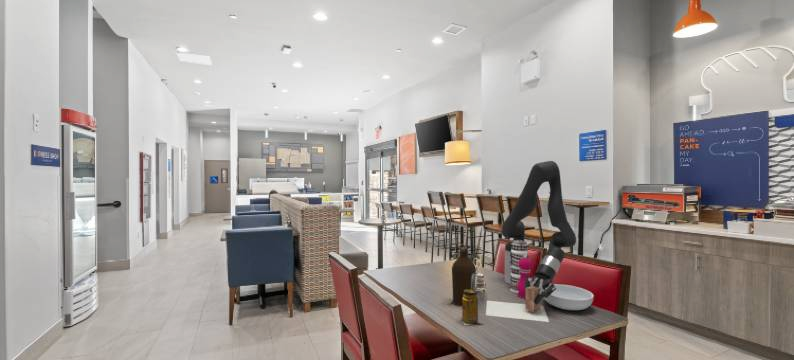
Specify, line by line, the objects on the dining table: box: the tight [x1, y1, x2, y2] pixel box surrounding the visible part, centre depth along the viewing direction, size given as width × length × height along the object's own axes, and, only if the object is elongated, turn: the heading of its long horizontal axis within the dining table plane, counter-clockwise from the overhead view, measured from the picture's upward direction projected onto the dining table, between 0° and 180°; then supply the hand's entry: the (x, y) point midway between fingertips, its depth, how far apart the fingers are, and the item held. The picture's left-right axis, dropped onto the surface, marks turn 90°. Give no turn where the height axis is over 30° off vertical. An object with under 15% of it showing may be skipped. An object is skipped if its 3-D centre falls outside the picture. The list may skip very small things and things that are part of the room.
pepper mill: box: [517, 255, 533, 300], centre depth 171 cm, size 7×7×20 cm
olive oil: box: [451, 246, 477, 307], centre depth 162 cm, size 11×11×25 cm
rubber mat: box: [485, 300, 550, 323], centre depth 153 cm, size 18×24×1 cm
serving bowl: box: [543, 283, 595, 311], centre depth 160 cm, size 21×21×7 cm
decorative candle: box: [509, 240, 530, 294], centre depth 181 cm, size 9×9×25 cm
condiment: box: [460, 289, 483, 326], centre depth 142 cm, size 7×8×12 cm
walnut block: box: [525, 286, 542, 312], centre depth 151 cm, size 4×5×9 cm
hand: (530, 301), depth 150 cm, fingers closed on walnut block, 4 cm apart
